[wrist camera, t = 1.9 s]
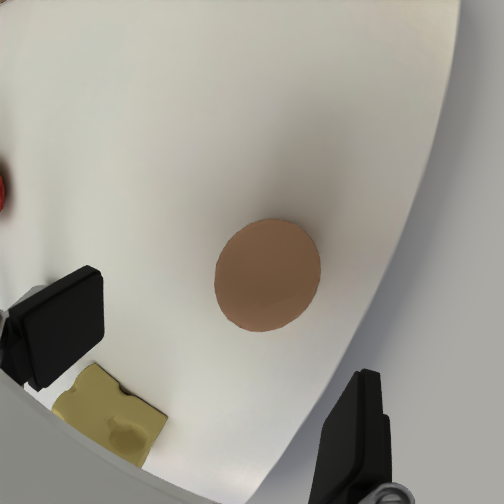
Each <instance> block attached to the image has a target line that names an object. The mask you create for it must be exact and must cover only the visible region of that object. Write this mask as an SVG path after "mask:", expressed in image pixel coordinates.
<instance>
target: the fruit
mask: <svg viewBox="0 0 504 504" xmlns="http://www.w3.org/2000/svg"><path fill="white" fill-rule="evenodd" d="M4 202H5V189H4V183H3V180H2V178H1V175H0V212H1V210H2V209H3V206H4Z"/></svg>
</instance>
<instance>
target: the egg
mask: <svg viewBox="0 0 504 504" xmlns="http://www.w3.org/2000/svg"><path fill="white" fill-rule="evenodd" d="M320 273H321V265H320V257H319V254H318V251H317V249H316V247H315V244H314V242H313V240H312V239H311V238H310V237H309V236H308V234H307V233H306V232H305V231H304V230H302V229H301V228H300V227H298V226H296V225H294V224H293V223H291V222H288V221H284V220H279V219H265V220H260V221H257V222H254V223H251V224H249V225H247V226H246V227H244V228H243V229H241V230H240V231H238V232H237V233H236V234H235V235H234V236H233V237H232V238H231V239H230V240H229V241H228V243H227V244H226V246H225V247H224V249H223V251H222V252H221V254H220V256H219V259H218V261H217V264H216V272H215V282H214V287H215V294H216V297H217V301H218V304H219V306H220V309H221V311H222V312H223V313H224V315H225V316H226V317H227V319H228V320H230V321H231V322H233V323H234V324H235V325H237V326H238V327H240V328H242V329H245V330H248V331H253V332H264V331H270V330H275V329H278V328H281V327H283V326H285V325H286V324H288V323H290V322H291V321H293V320H294V319H296V318H298V317H299V316H300V315H301V314H302V313H303V312H304V311H305V310H306V308H307V307H308V306H309V304H310V303H311V301H312V299H313V298H314V296H315V294H316V291H317V288H318V284H319V281H320Z"/></svg>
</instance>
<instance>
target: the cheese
mask: <svg viewBox="0 0 504 504" xmlns="http://www.w3.org/2000/svg"><path fill="white" fill-rule="evenodd" d="M51 412H53V413H54V414H55V415H57V416H58V417H59V418H61V419H62V420H63V421H65V422H66V423H68V424H69V425H70V426H72V427H73V428H75V429H76V430H78V431H79V432H81V433H82V434H84V435H85V436H87V437H88V438H90V439H91V440H93V441H94V442H96V443H97V444H99V445H101V446H102V447H104V448H105V449H107V450H109V451H110V452H112V453H114V454H116V455H117V456H119V457H121V458H122V459H124V460H126V461H128V462H130V463H131V464H133V465H135V466H137V467H139V468H142V466H143V464H144V462H145V460H146V458H147V456H148V454H149V451H150V449H151V446H152V444H153V442H154V441H155V439H156V438H157V436H158V435H159V433H160V431H161V430H162V428H163V426H164V424H165V422H166V420H167V417H166V416H165V415H163V414H162V413H160V412H159V411H157V410H156V409H154V408H153V407H151V406H149V405H148V404H146V403H145V402H143V401H142V400H140V399H138V398H137V397H135V396H127V395H125V394H124V393H123V392H122V391H121V390H120V388H119V383H118V382H116V381H115V380H114V379H113V378H112V377H111V376H109V375H108V374H107V373H106V372H105V371H104V370H103V369H101V368H100V367H99V366H98V365H97V364H92V365H90V366H88V367H87V368H85V369H84V370H83V371H82V372H81V373H80V374H79V375H78V377H77V378H76V380H75V382H74V384H73V386H72V387H71V388H70V389H69V390H68V391H65V392H63V393H62V394H61V395H60V396H59V397H58V398H57V400H56V401H55V403H54V404H53V406H52V410H51Z"/></svg>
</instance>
